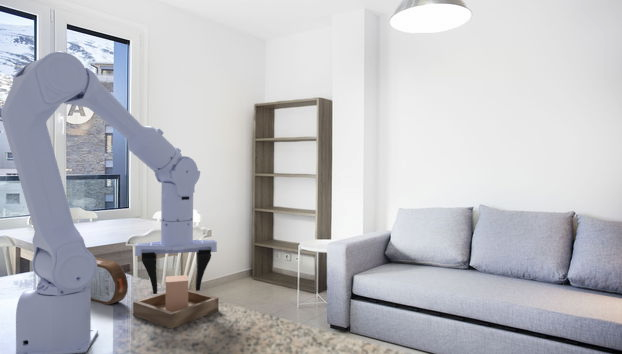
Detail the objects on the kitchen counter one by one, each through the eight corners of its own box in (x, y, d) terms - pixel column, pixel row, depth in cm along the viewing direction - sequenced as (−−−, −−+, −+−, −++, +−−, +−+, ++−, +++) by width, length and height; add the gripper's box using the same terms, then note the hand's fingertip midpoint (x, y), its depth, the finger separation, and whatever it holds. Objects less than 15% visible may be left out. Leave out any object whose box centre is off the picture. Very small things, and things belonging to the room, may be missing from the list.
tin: (129, 304, 84) (129, 262, 84) (115, 309, 82) (115, 266, 81) (83, 292, 92) (83, 253, 91) (69, 296, 89) (69, 256, 89)
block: (165, 314, 77) (165, 282, 77) (165, 307, 81) (165, 276, 81) (188, 312, 79) (188, 280, 78) (187, 305, 82) (187, 275, 82)
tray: (171, 328, 72) (171, 314, 72) (133, 315, 79) (133, 301, 78) (218, 310, 82) (218, 297, 82) (180, 299, 88) (181, 287, 88)
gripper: (134, 223, 73) (133, 300, 74) (218, 221, 78) (218, 293, 78) (136, 218, 80) (136, 289, 80) (214, 216, 85) (214, 283, 85)
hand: (176, 290), depth 80 cm, fingers open, 7 cm apart
